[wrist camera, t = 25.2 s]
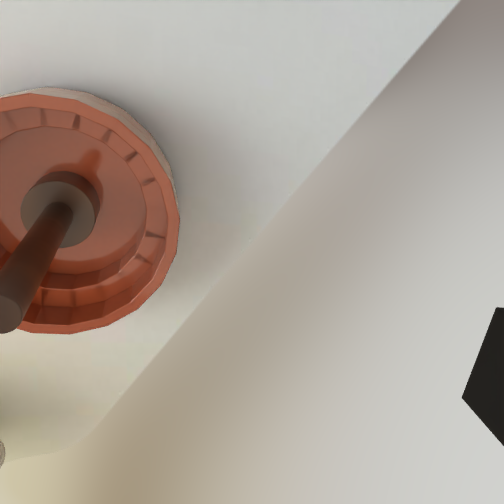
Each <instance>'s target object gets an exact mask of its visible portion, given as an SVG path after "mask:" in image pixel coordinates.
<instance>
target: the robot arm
mask: <svg viewBox="0 0 504 504" xmlns="http://www.w3.org/2000/svg"><path fill="white" fill-rule="evenodd" d="M462 399H463V400H464V401H465V402H466V403H467V404H468V405H469V407H470V408H471V409H472V410H473V411H474V412H475V414H476V415H477V416H478V417H479V418H480V419H481V420H482V422H483V423H484V424H485V425H486V426H487V427H488V428H489V430H490V431H491V432H492V433H493V434H494V435H495V437H496V438H497V439H498V440H499V441H500V442H501V443H502V445H503V446H504V308H499V307H497V308H496V309H495V312H494V314H493V317H492V320H491V322H490V325H489V328H488V330H487V333H486V336H485V338H484V341H483V343H482V346H481V349H480V351H479V354H478V356H477V359H476V362H475V364H474V367H473V369H472V372H471V375H470V377H469V380H468V382H467V385H466V388H465V390H464V393H463V395H462Z"/></svg>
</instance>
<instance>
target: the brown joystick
mask: <svg viewBox="0 0 504 504" xmlns="http://www.w3.org/2000/svg"><path fill="white" fill-rule="evenodd" d="M99 209H100V201H99V197H98V194H97V192H96V190H95V188H94V187H93V186H92V184H91V183H90V182H89V181H88V180H86V179H85V178H84V177H82V176H80V175H78V174H76V173H72V172H67V171H56V172H52V173H49V174H47V175H45V176H43V177H42V178H41V179H39V180H38V181H37V182H36V184H35V185H34V186H33V187H32V188H31V189H30V190H29V191H28V192H27V194H26V195H25V197H24V198H23V201H22V203H21V210H20V213H21V219H22V222H23V225H24V227H25V229H26V230H27V231H28V232H27V234H26V235H25V236H24V238H23V239H22V241H21V242H20V243H19V245H18V246H17V248H16V249H15V250H14V252H13V253H12V255H11V256H10V257H9V259H8V260H7V261H6V263H5V264H4V266H3V267H2V268H1V270H0V334H3V333H8V332H11V331H13V330H15V329H16V328H17V327H18V326H19V325H20V324H21V322H22V320H23V318H24V316H25V314H26V312H27V310H28V308H29V306H30V304H31V302H32V300H33V298H34V296H35V294H36V292H37V290H38V288H39V286H40V284H41V282H42V280H43V278H44V276H45V274H46V272H47V270H48V268H49V266H50V264H51V262H52V260H53V258H54V256H55V255H56V253H57V251H58V249H59V248H68V247H72V246H75V245H77V244H79V243H81V242H83V241H84V240H85V239H86V238H87V237H88V236H89V235H90V233H91V232H92V230H93V227H94V225H95V222H96V219H97V217H98V214H99Z"/></svg>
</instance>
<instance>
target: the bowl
mask: <svg viewBox="0 0 504 504" xmlns="http://www.w3.org/2000/svg"><path fill="white" fill-rule="evenodd" d="M56 171H67V172H72V173H76V174H78V175H80V176H82V177H84V178H85V179H86V180H88V181H89V182H90V183H91V184H92V186H93V187H94V188H95V190H96V192H97V194H98V197H99V201H100V209H99V214H98V217H97V219H96V222H95V225H94V227H93V230H92V232H91V233H90V235H89V236H88V237H87V238H86V239H85V240H84V241H83V242H81V243H79V244H77V245H75V246H72V247H68V248H59V249H58V251H57V253H56V255H55V256H54V258H53V260H52V262H51V264H50V266H49V268H48V270H47V272H46V274H45V276H44V278H43V280H42V282H41V284H40V286H39V288H38V290H37V292H36V294H35V296H34V298H33V300H32V302H31V304H30V306H29V308H28V310H27V312H26V314H25V316H24V318H23V320H22V322H21V324H20V325H19V326H18V327H17V329H20V330H24V331H27V332H30V333H47V334H74V333H78V332H82V331H87V330H91V329H96V328H100V327H104V326H108V325H110V324H112V323H113V322H115V321H117V320H119V319H121V318H122V317H124V316H126V315H128V314H130V313H132V312H133V311H135V310H137V309H138V308H139V307H140V306H141V305H142V304H143V303H144V302H145V301H146V300H147V299H148V298H149V297H150V296H151V295H152V294H153V293H154V292H155V291H156V290H157V289H158V288H159V287H160V286H161V284H162V282H163V280H164V278H165V276H166V274H167V272H168V270H169V268H170V266H171V263H172V261H173V259H174V257H175V255H176V251H177V242H178V232H179V223H180V217H179V208H178V200H177V194H176V190H175V185H174V181H173V177H172V172H171V168H170V165H169V163H168V161H167V160H166V158H165V156H164V155H163V153H162V151H161V150H160V148H159V146H158V145H157V143H156V141H155V140H154V138H153V136H152V135H151V134H150V133H149V132H148V131H147V130H146V129H145V128H144V127H143V126H141V125H140V124H139V123H138V122H137V121H136V120H135V119H134V118H133V117H131V116H130V115H129V114H128V113H127V112H126V111H125V110H123V109H122V108H120V107H118V106H115V105H113V104H111V103H109V102H107V101H105V100H103V99H101V98H98V97H96V96H94V95H92V94H90V93H87V92H82V91H75V90H68V89H61V88H54V87H43V88H37V89H31V90H26V91H20V92H14V93H9V94H6V95H2V96H0V270H1V268H2V267H3V266H4V264H5V263H6V261H7V260H8V259H9V257H10V256H11V255H12V253H13V252H14V250H15V249H16V248H17V246H18V245H19V243H20V242H21V241H22V239H23V238H24V236H25V235H26V234H27V232H28V231H27V230H26V229H25V227H24V225H23V222H22V219H21V213H20V210H21V203H22V201H23V198H24V197H25V195H26V194H27V192H28V191H29V190H30V189H31V188H32V187H33V186H34V185H35V184H36V182H37V181H38V180H39V179H41V178H42V177H43V176H45V175H47V174H49V173H52V172H56Z"/></svg>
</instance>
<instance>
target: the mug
mask: <svg viewBox="0 0 504 504" xmlns="http://www.w3.org/2000/svg"><path fill="white" fill-rule="evenodd" d="M4 459H5V447H4V444H3V442H2V441H1V440H0V467H1V466H2V464H3V462H4Z"/></svg>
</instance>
